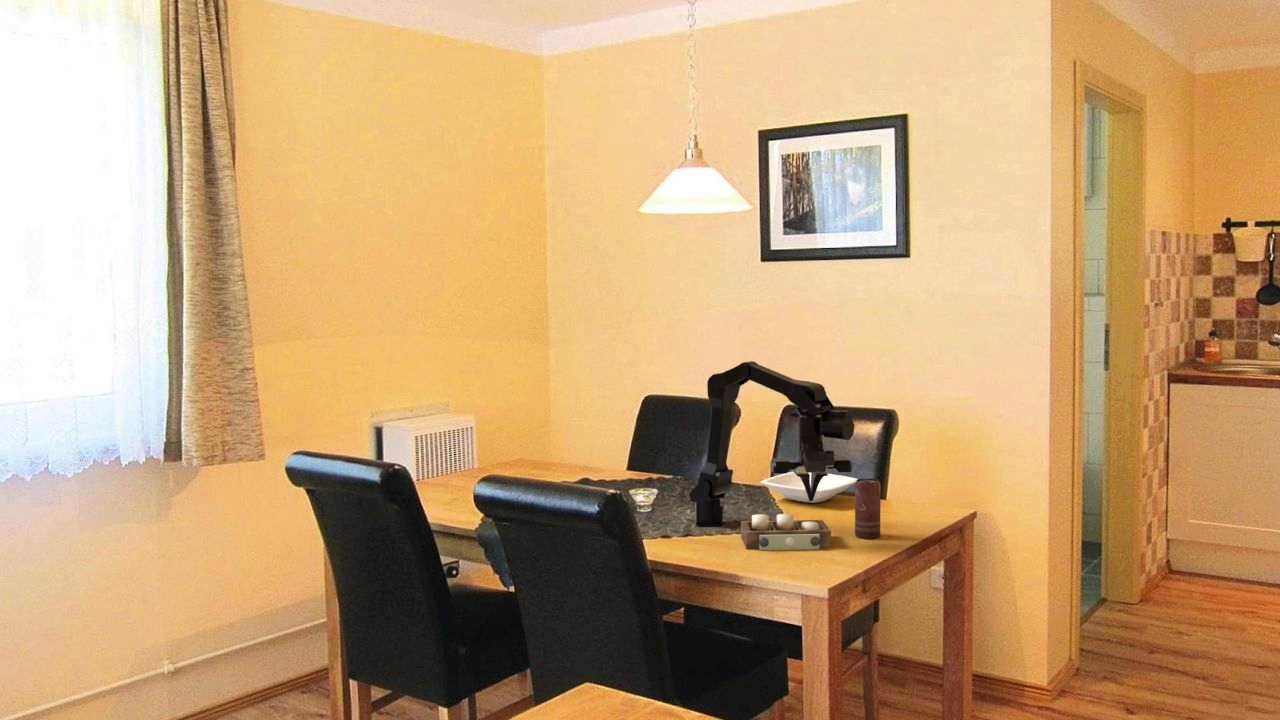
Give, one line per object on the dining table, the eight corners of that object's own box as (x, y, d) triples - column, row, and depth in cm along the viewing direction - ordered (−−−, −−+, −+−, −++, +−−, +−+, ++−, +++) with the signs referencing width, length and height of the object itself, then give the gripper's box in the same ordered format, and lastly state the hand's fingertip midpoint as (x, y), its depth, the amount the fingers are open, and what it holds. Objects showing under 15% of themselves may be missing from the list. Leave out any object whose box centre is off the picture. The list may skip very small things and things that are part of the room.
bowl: (753, 502, 309) (753, 482, 309) (798, 488, 327) (798, 469, 326) (822, 513, 295) (822, 492, 294) (865, 498, 312) (865, 478, 312)
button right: (803, 537, 263) (803, 525, 262) (800, 533, 267) (800, 521, 266) (819, 537, 263) (819, 525, 262) (816, 533, 267) (816, 521, 266)
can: (876, 540, 265) (876, 483, 264) (851, 537, 268) (851, 481, 267) (884, 535, 270) (885, 479, 269) (860, 532, 273) (860, 476, 272)
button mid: (778, 530, 262) (778, 517, 262) (775, 526, 266) (775, 513, 266) (794, 529, 262) (794, 517, 262) (792, 525, 266) (792, 513, 266)
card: (759, 550, 258) (759, 535, 257) (759, 549, 258) (759, 535, 258) (819, 549, 258) (819, 534, 258) (819, 548, 259) (819, 533, 258)
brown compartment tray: (746, 548, 259) (746, 532, 259) (741, 537, 270) (741, 521, 270) (830, 547, 259) (830, 530, 259) (822, 535, 270) (822, 519, 270)
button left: (752, 530, 262) (752, 518, 262) (750, 526, 266) (750, 514, 266) (769, 530, 262) (769, 517, 262) (767, 526, 266) (767, 514, 266)
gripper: (776, 442, 254) (776, 509, 256) (856, 441, 255) (856, 507, 256) (769, 435, 265) (770, 498, 267) (846, 433, 266) (846, 497, 267)
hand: (810, 500), depth 264 cm, fingers closed
